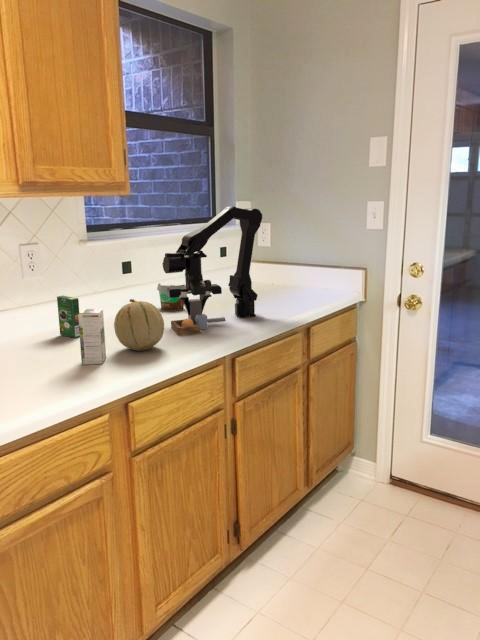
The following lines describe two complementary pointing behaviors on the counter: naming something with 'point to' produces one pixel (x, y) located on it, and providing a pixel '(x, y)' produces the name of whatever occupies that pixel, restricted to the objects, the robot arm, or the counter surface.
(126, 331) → the cantaloupe
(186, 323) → the ball
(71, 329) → the coffee box
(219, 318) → the rail
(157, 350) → the counter surface
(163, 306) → the food container
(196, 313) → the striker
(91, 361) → the syrup box
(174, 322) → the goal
